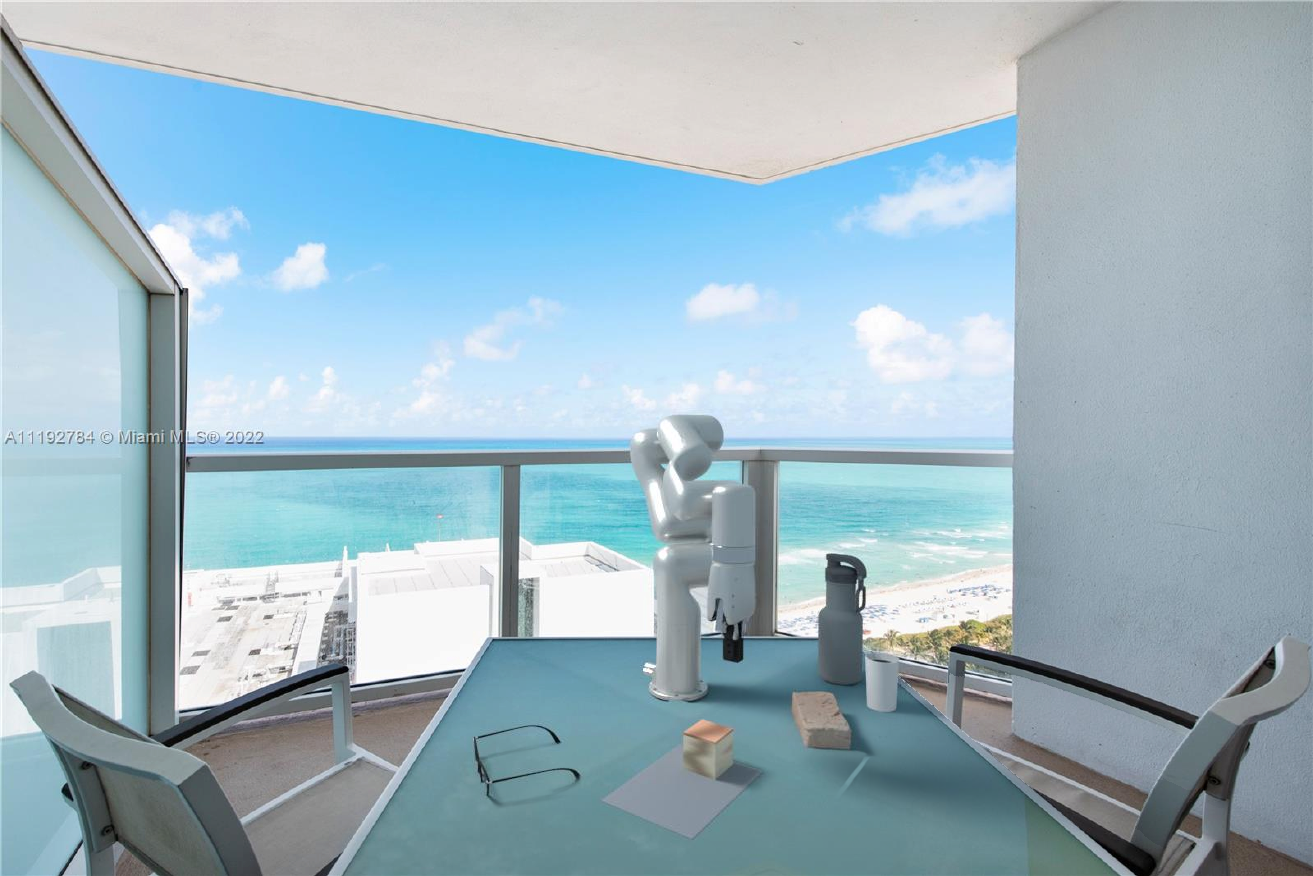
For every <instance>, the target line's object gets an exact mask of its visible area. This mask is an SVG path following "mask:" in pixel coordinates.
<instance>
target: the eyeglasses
mask: <svg viewBox="0 0 1313 876" xmlns="http://www.w3.org/2000/svg"><path fill="white" fill-rule="evenodd" d="M527 727H529V728H531V727H535V728H539V729H540V728H541V729H543V730H545V731H547V732H548V733H549V734H550V736H551V737H552V739H553V741H554V743H556V744H561V743H562V742H561V740H560V739H559V737H558V736H557V734H556V733H554V731H552V730H551V729H549V728H547V727H545V726H543V725H538V724H537V725H535V724H531V725H530V724H529V725H523V726H518V727H514V728H509V729H505V730H504V729H503V730H501V731H496V732H490V733H487V734H482V735H478V736H473V738H472V739H473V745H474V746H473V747H474V758H475V761H476V763H477V772H479V780H480V783H481V784H483V783H484V780H483V774H484V777H485V782H486V794H485V796H490V785H491V784H496V783H500V782H506V781H509V780H514V779H515V780H516V779H518V778H519V779H520V778H522V777H528V776H532V775H536V774H537V775H538V774H541V773H547V772H553V771H569V772H571V773H573V775H574V777H575V778H578V777H579V776H580V773H579V772H578V771H577V770H575V769H574V768H570V767H558V768H551V769H546V770H541V771H535V772H531V773H526V774H520V775H516V776H510V777H505V778H500V779H495V780H490V776H489V775H488V773H487V770H486V767H485V765H484V763H483V762H482V760H480V754H479V749H478V745H477V744H478V743H477V740H478V739H483V738H486V737H490V736H493V735H498V734H501V733H502V734H503V733H507V732H510V731H514V730H519V729H523V728H527Z"/></svg>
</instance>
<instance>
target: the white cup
mask: <svg viewBox="0 0 1313 876" xmlns="http://www.w3.org/2000/svg"><path fill="white" fill-rule="evenodd" d="M864 655H865V659H864V660H865V662H864V663H865V685H866V686H865V687H866V688H865V689H866V705H867V707H868V708H869V709H871V710H873V711H876V712H883V713H890V712H891V713H892V712H895V711H896V710H897V701H898V699H897V698H898V685H899V669H900V668H899V667H900V658H899V657H898V656H896V655H895V654H892V653H888V652H883V651H882V652H881V651H873V652H871V651H870V652H868V653H866V654H864Z"/></svg>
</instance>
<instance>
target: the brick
mask: <svg viewBox="0 0 1313 876" xmlns="http://www.w3.org/2000/svg"><path fill="white" fill-rule="evenodd" d="M791 696H792V697H791V699H792V700H791V715H792V718H793V719H794V721H793V722H794V723H795V725H796V728H797V729H798V733H799V734H800V735H801V740H802V741H803V744H804V746H805V747H806V748H813V749H837V750H850V749H851V746H852V735H851V734H852V730H851V727H850V724H849V723H848V721H847V719H846V718H845V717H844V715H843V713H842V712H841V709H840V707H839V704H838V701H837V699H836V696H835V694H834V693H832V692H827V691H806V692H804V691H801V692H795V691H793V692H792V694H791Z"/></svg>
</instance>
